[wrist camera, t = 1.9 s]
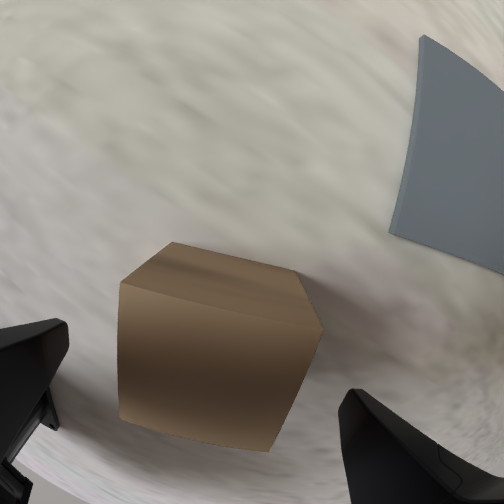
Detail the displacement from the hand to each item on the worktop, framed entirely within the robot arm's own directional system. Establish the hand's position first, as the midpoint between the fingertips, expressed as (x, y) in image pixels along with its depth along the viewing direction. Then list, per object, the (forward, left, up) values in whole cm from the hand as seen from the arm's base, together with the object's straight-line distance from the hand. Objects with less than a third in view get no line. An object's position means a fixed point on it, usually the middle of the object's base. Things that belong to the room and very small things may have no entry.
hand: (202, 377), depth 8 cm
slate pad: (+10, -11, -4) cm, 16 cm away
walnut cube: (0, 0, -4) cm, 4 cm away
